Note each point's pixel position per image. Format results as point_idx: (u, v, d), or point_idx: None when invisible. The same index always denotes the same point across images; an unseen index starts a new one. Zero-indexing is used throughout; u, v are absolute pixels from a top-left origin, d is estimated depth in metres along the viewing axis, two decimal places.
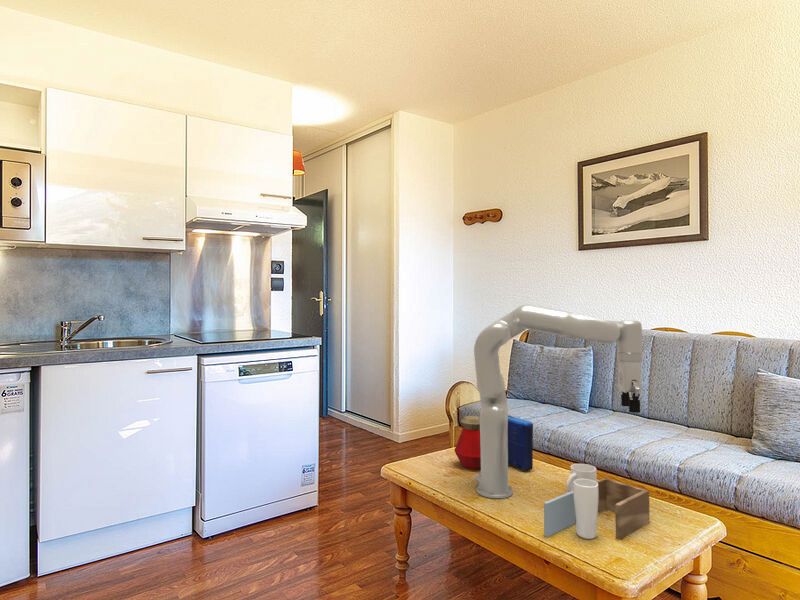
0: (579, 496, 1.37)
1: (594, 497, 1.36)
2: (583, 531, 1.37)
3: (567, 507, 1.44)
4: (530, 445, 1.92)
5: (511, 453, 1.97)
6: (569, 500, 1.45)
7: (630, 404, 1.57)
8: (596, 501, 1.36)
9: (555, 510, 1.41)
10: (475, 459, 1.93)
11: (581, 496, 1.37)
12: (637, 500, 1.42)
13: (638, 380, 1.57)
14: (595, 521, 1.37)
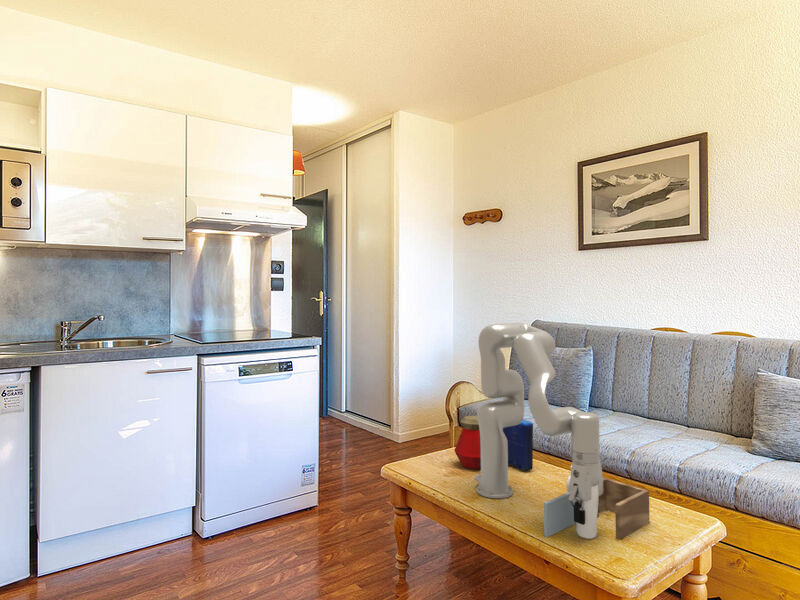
0: (579, 496, 1.37)
1: (594, 497, 1.36)
2: (583, 531, 1.37)
3: (567, 507, 1.44)
4: (530, 445, 1.92)
5: (511, 453, 1.97)
6: None
7: None
8: (596, 501, 1.36)
9: (555, 510, 1.41)
10: (475, 459, 1.93)
11: None
12: (637, 500, 1.42)
13: None
14: (595, 521, 1.37)
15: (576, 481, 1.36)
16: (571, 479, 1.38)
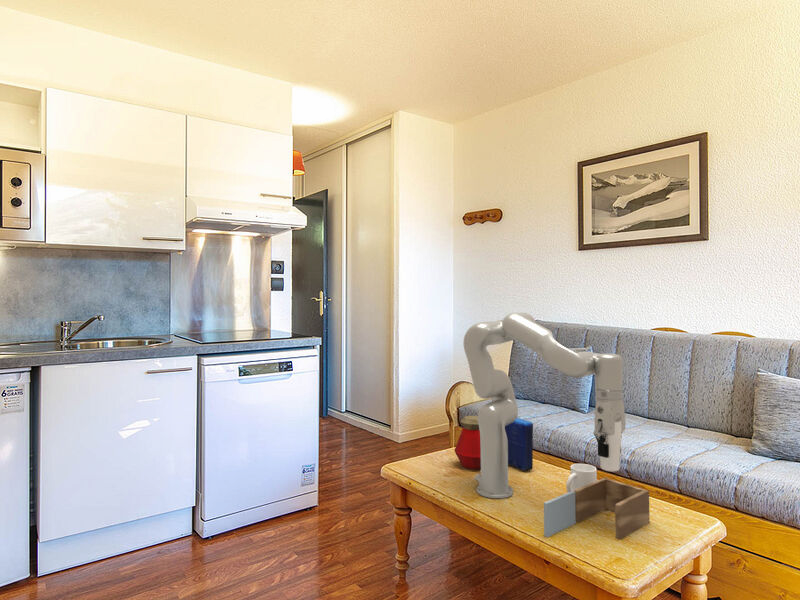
0: (603, 431, 1.45)
1: (617, 432, 1.44)
2: (607, 464, 1.45)
3: (567, 507, 1.44)
4: (530, 445, 1.92)
5: (511, 453, 1.97)
6: (569, 500, 1.45)
7: None
8: (619, 436, 1.44)
9: (555, 510, 1.41)
10: (475, 459, 1.93)
11: None
12: (637, 500, 1.42)
13: None
14: (618, 455, 1.45)
15: (600, 417, 1.44)
16: (595, 415, 1.46)
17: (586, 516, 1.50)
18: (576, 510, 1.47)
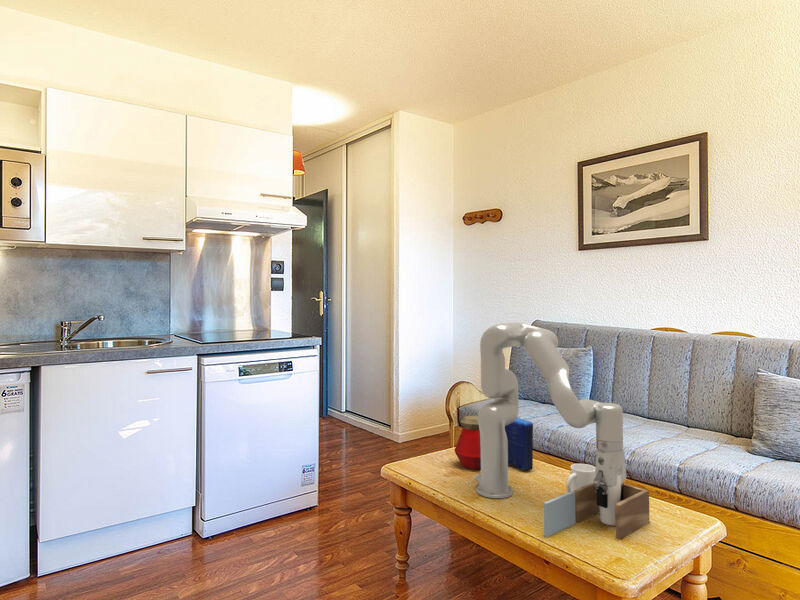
0: None
1: (617, 486, 1.44)
2: (607, 518, 1.45)
3: (567, 507, 1.44)
4: (530, 445, 1.92)
5: (511, 453, 1.97)
6: (569, 500, 1.45)
7: None
8: (619, 490, 1.45)
9: (555, 510, 1.41)
10: (475, 459, 1.93)
11: None
12: (637, 500, 1.42)
13: None
14: None
15: (601, 468, 1.44)
16: (596, 466, 1.45)
17: (586, 516, 1.50)
18: (576, 510, 1.47)
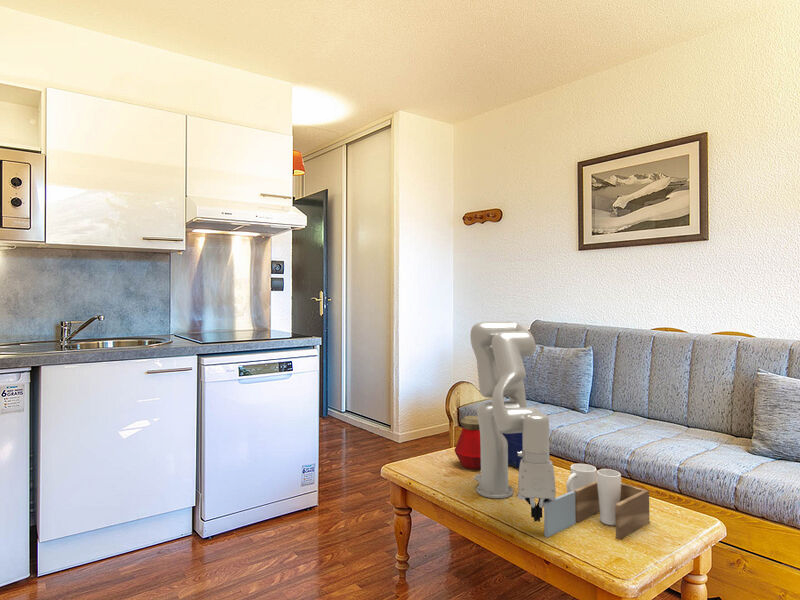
0: (603, 485, 1.45)
1: (617, 486, 1.44)
2: (607, 518, 1.45)
3: (567, 507, 1.44)
4: None
5: (511, 453, 1.97)
6: (569, 500, 1.45)
7: (540, 512, 1.40)
8: (619, 490, 1.45)
9: (555, 510, 1.41)
10: (475, 459, 1.93)
11: (605, 485, 1.45)
12: (637, 500, 1.42)
13: None
14: None
15: None
16: None
17: (586, 516, 1.50)
18: (576, 510, 1.47)
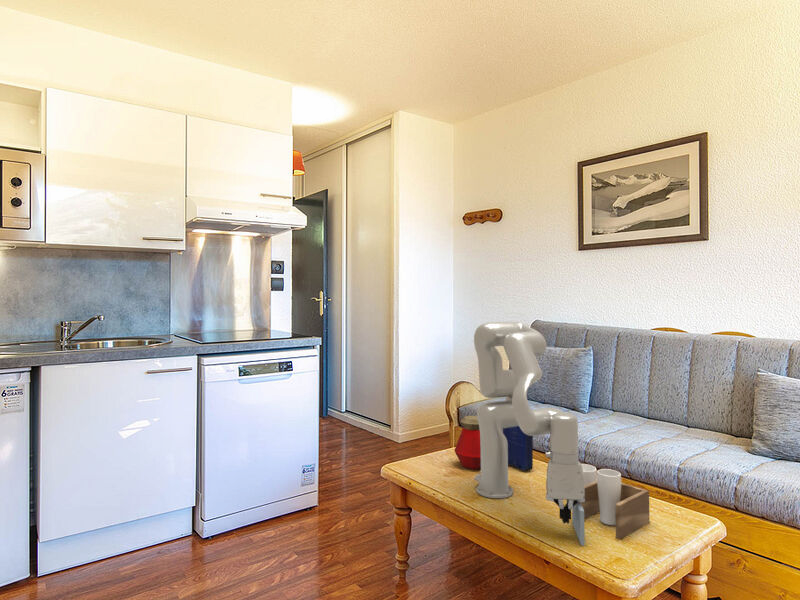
0: (603, 485, 1.45)
1: (617, 486, 1.44)
2: (607, 518, 1.45)
3: None
4: (530, 445, 1.92)
5: (511, 453, 1.97)
6: None
7: None
8: (619, 490, 1.45)
9: None
10: (475, 459, 1.93)
11: (605, 485, 1.45)
12: (637, 500, 1.42)
13: None
14: None
15: None
16: None
17: (586, 516, 1.50)
18: None
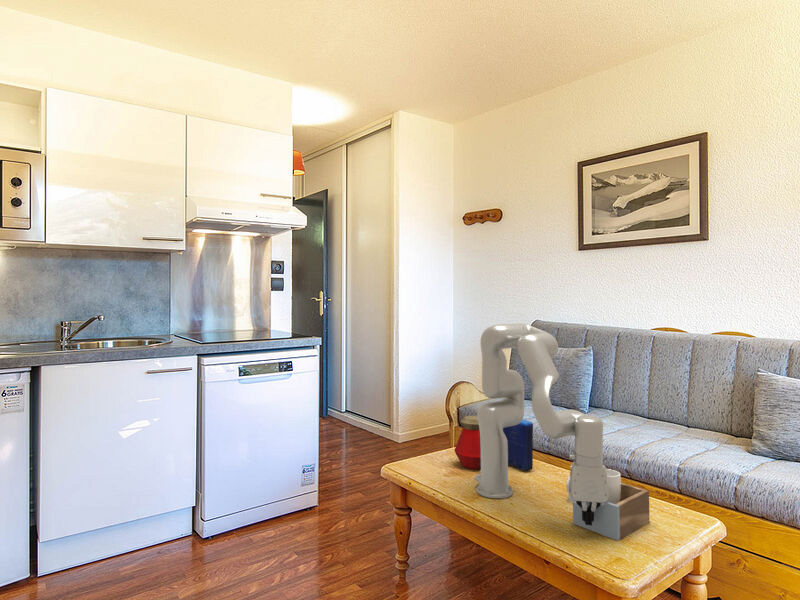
0: None
1: (617, 486, 1.44)
2: None
3: None
4: (530, 445, 1.92)
5: (511, 453, 1.97)
6: None
7: None
8: (619, 489, 1.45)
9: None
10: (475, 459, 1.93)
11: None
12: (637, 500, 1.42)
13: None
14: None
15: (570, 479, 1.40)
16: None
17: None
18: None
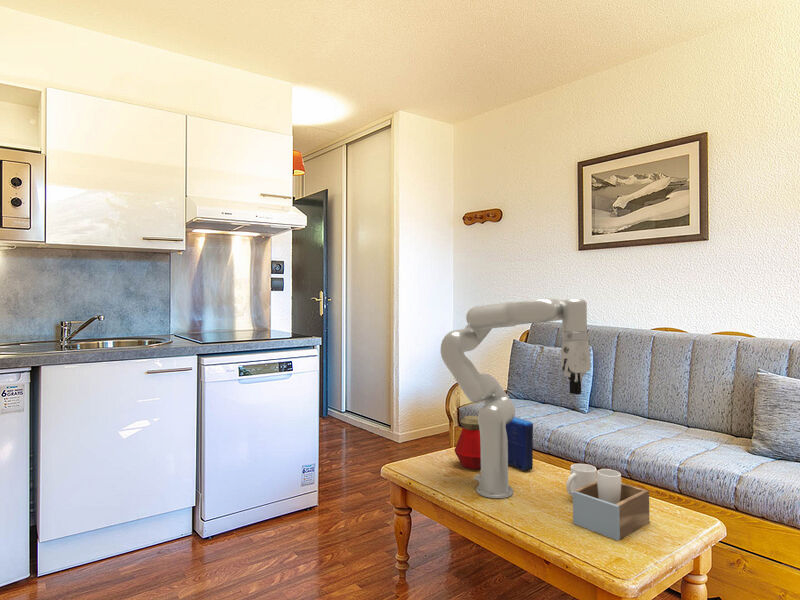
0: (603, 485, 1.45)
1: (617, 486, 1.44)
2: None
3: None
4: (530, 445, 1.92)
5: (511, 453, 1.97)
6: None
7: None
8: (619, 490, 1.45)
9: None
10: (475, 459, 1.93)
11: (605, 485, 1.45)
12: (637, 500, 1.42)
13: None
14: None
15: (566, 356, 1.54)
16: (562, 355, 1.56)
17: None
18: None
